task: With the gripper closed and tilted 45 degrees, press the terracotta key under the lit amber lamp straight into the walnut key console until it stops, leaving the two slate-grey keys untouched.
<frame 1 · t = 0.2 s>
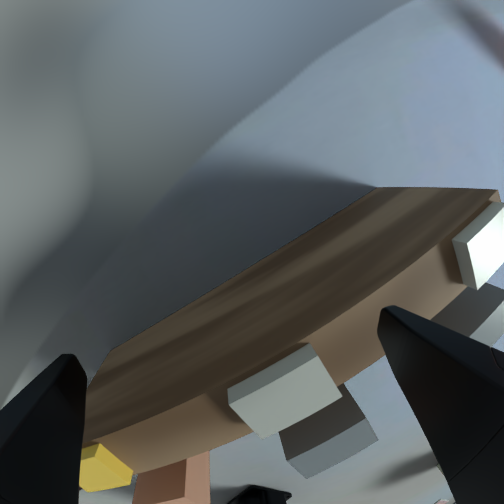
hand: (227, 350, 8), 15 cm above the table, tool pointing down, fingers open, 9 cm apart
terracotta key: (176, 451, 18), point 7 cm above the table, slide at 0.0 cm
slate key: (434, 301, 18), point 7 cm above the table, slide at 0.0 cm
walnut key console: (182, 400, 25), on the table
middle slate key: (307, 391, 18), point 7 cm above the table, slide at 0.0 cm
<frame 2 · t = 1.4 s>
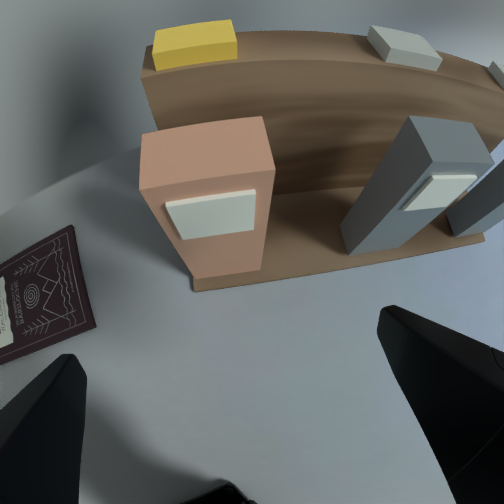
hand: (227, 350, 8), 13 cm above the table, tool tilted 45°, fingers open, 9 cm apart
terracotta key: (218, 223, 15), point 7 cm above the table, slide at 0.0 cm
chocolate bar: (14, 310, 21), on the table
walnut key console: (226, 260, 22), on the table
middle slate key: (404, 201, 16), point 7 cm above the table, slide at 0.0 cm
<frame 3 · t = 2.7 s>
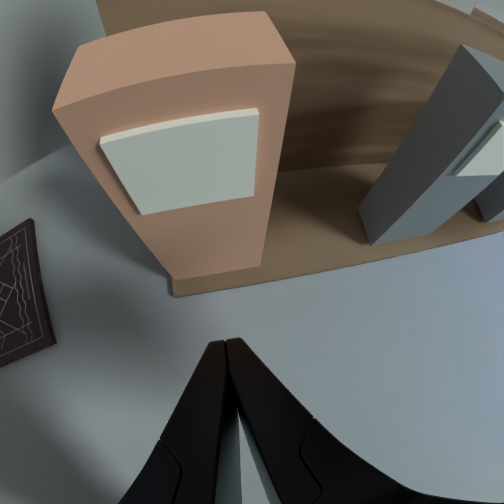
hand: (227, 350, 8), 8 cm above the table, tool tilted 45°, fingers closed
terracotta key: (199, 195, 10), point 7 cm above the table, slide at 0.0 cm
walnut key console: (214, 255, 17), on the table
middle slate key: (446, 169, 11), point 7 cm above the table, slide at 0.0 cm
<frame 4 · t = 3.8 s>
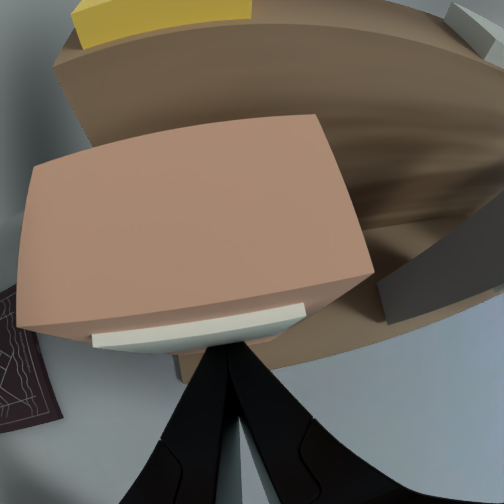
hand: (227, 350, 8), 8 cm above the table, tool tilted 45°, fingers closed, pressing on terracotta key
terracotta key: (210, 305, 9), point 7 cm above the table, slide at 0.7 cm, touching gripper
walnut key console: (224, 339, 15), on the table
middle slate key: (480, 264, 10), point 7 cm above the table, slide at 0.0 cm
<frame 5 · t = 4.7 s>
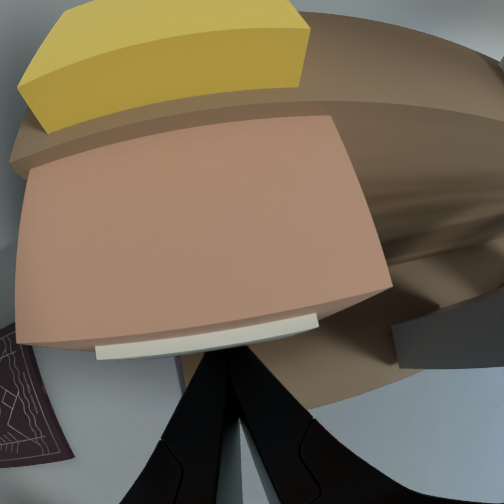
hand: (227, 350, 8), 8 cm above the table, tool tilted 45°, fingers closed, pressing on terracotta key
terracotta key: (214, 306, 9), point 7 cm above the table, slide at 3.4 cm, touching gripper, walnut key console
walnut key console: (235, 386, 14), on the table
middle slate key: (498, 323, 9), point 7 cm above the table, slide at 0.0 cm
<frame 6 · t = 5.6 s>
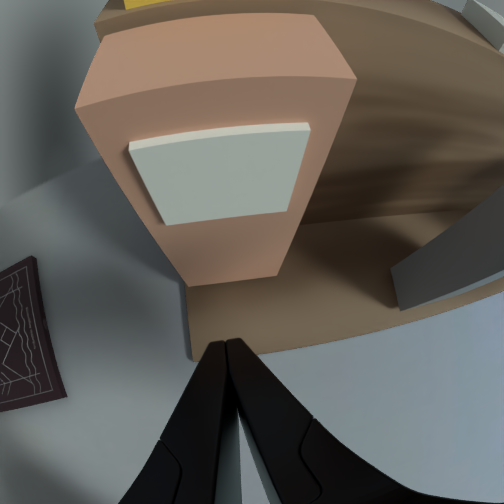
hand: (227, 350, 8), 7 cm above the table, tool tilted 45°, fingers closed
terracotta key: (224, 203, 10), point 7 cm above the table, slide at 3.1 cm
walnut key console: (237, 318, 15), on the table
middle slate key: (492, 250, 10), point 7 cm above the table, slide at 0.0 cm
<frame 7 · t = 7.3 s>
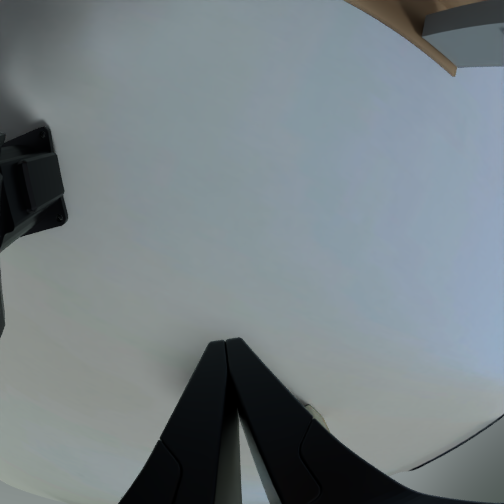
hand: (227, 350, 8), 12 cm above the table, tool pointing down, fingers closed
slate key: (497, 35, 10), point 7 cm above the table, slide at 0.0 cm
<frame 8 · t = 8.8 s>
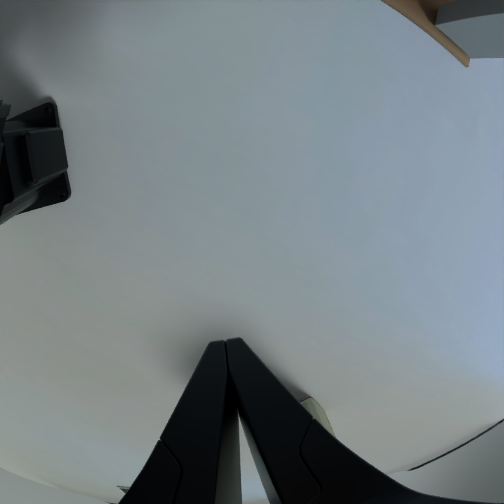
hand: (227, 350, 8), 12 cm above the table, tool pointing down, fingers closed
skincare box: (293, 414, 29), on the table
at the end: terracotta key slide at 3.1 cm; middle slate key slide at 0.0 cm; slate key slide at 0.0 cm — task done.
